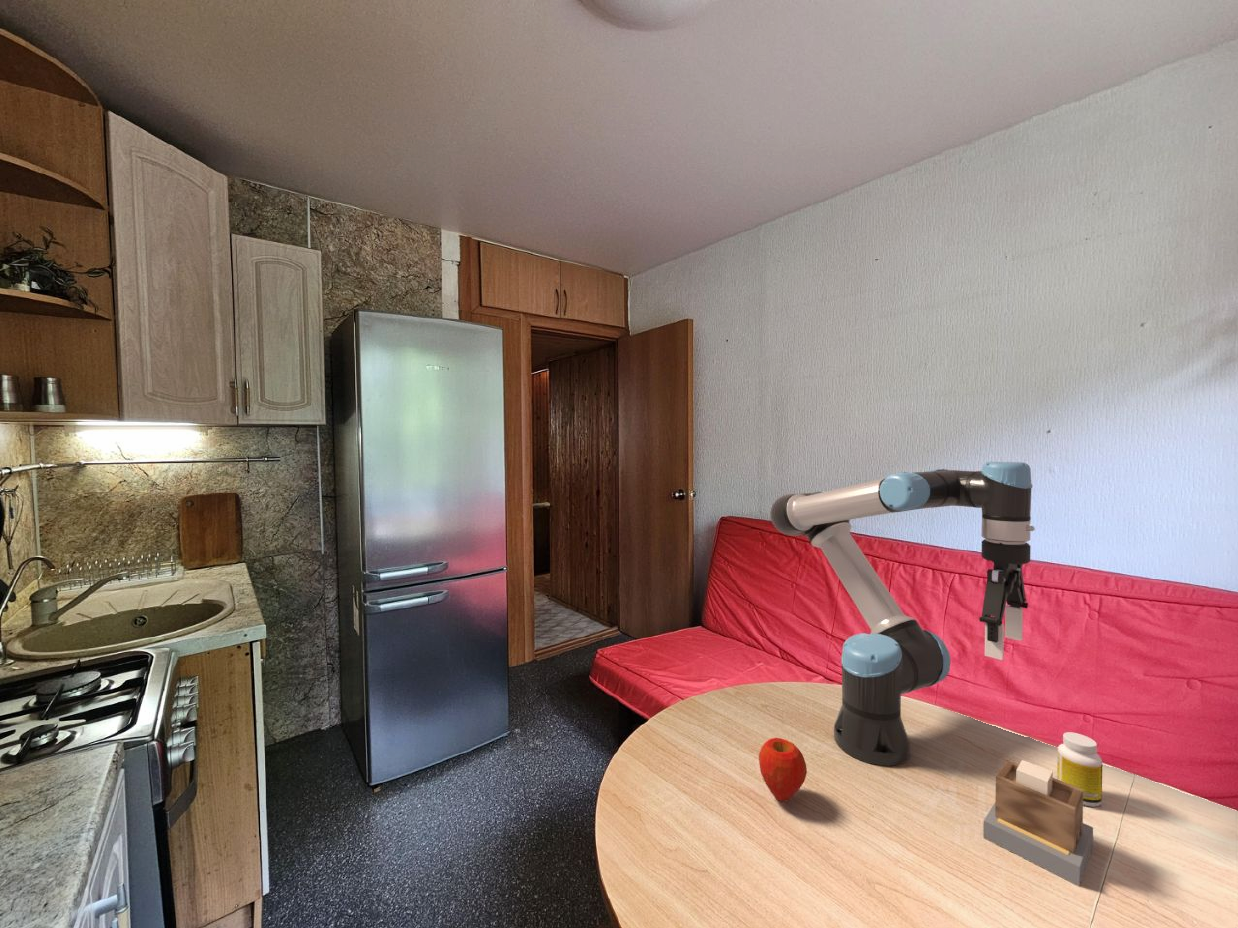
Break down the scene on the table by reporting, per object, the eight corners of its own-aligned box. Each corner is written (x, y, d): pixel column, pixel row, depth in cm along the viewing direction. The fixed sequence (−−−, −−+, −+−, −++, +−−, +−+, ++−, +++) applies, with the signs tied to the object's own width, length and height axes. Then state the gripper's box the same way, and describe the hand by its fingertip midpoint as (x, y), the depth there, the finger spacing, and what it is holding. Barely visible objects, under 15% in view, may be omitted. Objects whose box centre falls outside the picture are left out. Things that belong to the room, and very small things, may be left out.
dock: (983, 837, 83) (983, 819, 83) (1003, 804, 91) (1003, 788, 91) (1079, 886, 74) (1079, 866, 74) (1092, 844, 81) (1093, 826, 81)
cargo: (1016, 787, 82) (1016, 769, 82) (1021, 776, 85) (1022, 759, 85) (1047, 800, 79) (1047, 782, 79) (1052, 788, 82) (1052, 771, 82)
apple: (813, 796, 94) (813, 741, 93) (794, 821, 87) (794, 762, 87) (771, 776, 99) (770, 724, 99) (750, 798, 93) (750, 743, 93)
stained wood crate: (995, 816, 84) (995, 776, 84) (1006, 797, 88) (1007, 759, 88) (1073, 853, 76) (1074, 809, 76) (1082, 830, 80) (1083, 789, 80)
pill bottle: (1111, 810, 89) (1112, 750, 89) (1071, 805, 90) (1072, 747, 90) (1086, 786, 95) (1087, 731, 95) (1049, 782, 96) (1050, 728, 96)
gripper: (1012, 553, 85) (1010, 673, 86) (1045, 535, 101) (1043, 636, 101) (961, 546, 91) (960, 659, 91) (1000, 530, 106) (999, 626, 107)
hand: (1004, 647), depth 96 cm, fingers open, 13 cm apart
